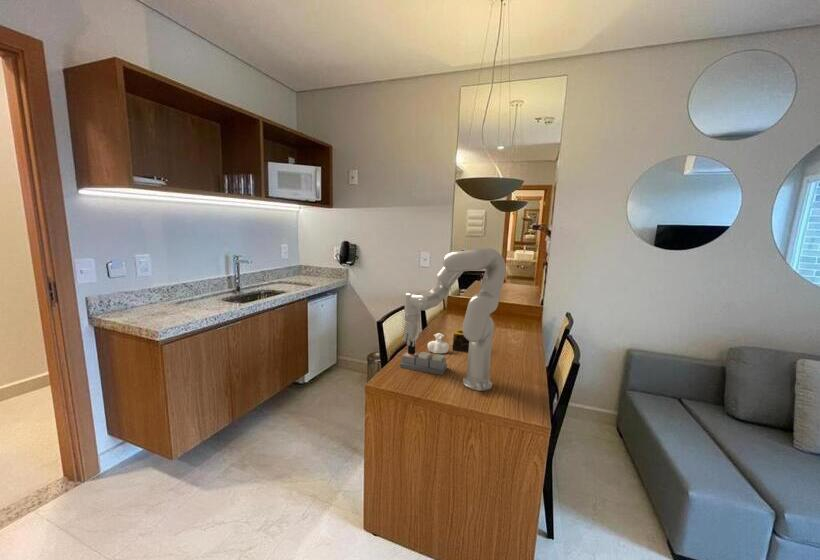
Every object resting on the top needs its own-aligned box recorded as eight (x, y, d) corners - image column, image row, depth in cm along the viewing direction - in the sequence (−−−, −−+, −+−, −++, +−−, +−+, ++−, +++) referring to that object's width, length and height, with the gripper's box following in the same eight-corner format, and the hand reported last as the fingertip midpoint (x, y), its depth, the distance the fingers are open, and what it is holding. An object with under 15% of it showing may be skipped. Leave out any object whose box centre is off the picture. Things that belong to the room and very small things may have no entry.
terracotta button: (415, 359, 166) (416, 353, 165) (413, 362, 162) (413, 356, 161) (407, 358, 167) (407, 352, 167) (404, 361, 163) (404, 355, 163)
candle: (470, 352, 185) (471, 335, 183) (452, 350, 186) (453, 333, 185) (470, 346, 194) (471, 330, 193) (453, 344, 196) (454, 328, 195)
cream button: (429, 359, 163) (429, 353, 163) (426, 362, 159) (427, 356, 159) (421, 357, 165) (421, 351, 164) (418, 360, 161) (418, 354, 160)
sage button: (443, 361, 161) (443, 355, 161) (441, 364, 157) (441, 358, 156) (434, 360, 162) (435, 353, 162) (432, 363, 158) (432, 357, 158)
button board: (446, 367, 163) (447, 357, 162) (442, 375, 155) (442, 363, 154) (406, 360, 170) (407, 350, 169) (400, 367, 162) (400, 356, 161)
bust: (448, 356, 184) (450, 337, 189) (448, 352, 177) (450, 332, 183) (427, 354, 186) (429, 335, 191) (426, 350, 179) (428, 330, 185)
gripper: (410, 313, 169) (409, 347, 172) (399, 320, 155) (398, 357, 158) (424, 314, 167) (423, 349, 169) (414, 322, 153) (413, 360, 155)
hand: (411, 353), depth 164 cm, fingers closed
